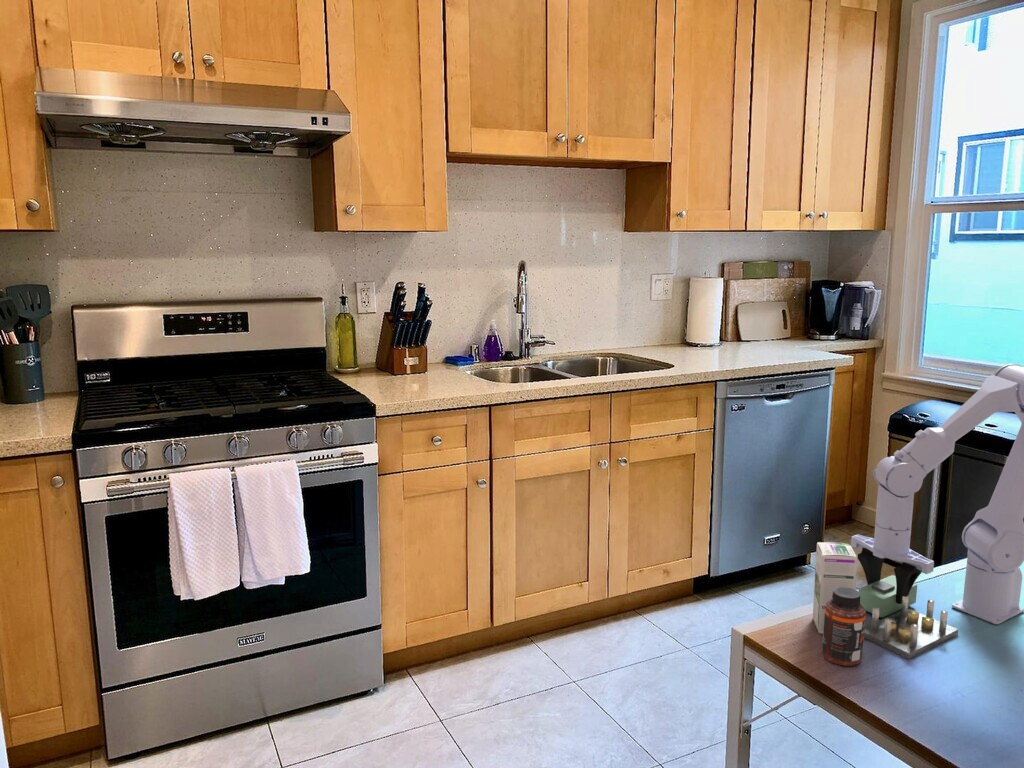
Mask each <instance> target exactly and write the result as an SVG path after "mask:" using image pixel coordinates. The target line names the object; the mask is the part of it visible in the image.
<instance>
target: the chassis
mask: <svg viewBox="0 0 1024 768" xmlns="http://www.w3.org/2000/svg"><path fill="white" fill-rule="evenodd" d="M908 601H909V596H908V595H902V606H901V609H900V611H899V610H898V611H896V612H894V613H892V614H889V615H887V616H885V617H883V618H882V619H879V618H880V617H879V608H877V607H873V613H871V615H872V617H871V623H870V624H867V625H865V630H864V639H865V638H866V640H868V641H869V642H871V643H874V642H875V643H874V644H875V645H878V646H880V645H881V646H880V647H882V646H883V647H882V648H884V647H885V649H886V648H887V650H888V651H891V652H893V653H894V654H897V653H898V654H897V655H899V656H901V655H902V656H901V657H903V656H904V658H905V659H907V658H908V660H910V659H912V658H914V657H917V656H918V655H920V654H922V653H924V652H926V651H928V650H931V649H933V648H934V647H936V646H938V645H940V644H942V643H945V642H947V641H948V640H950V639H952V638H954V637H957V636H958V635H959V629H958V628H957V627H953V626H951V625H949V624H948V623H947V622H948V612H949V611H947V610H941V611H940V618H939V619H940V620H937V619H935V618H934V608H935V600H933V599H928V600H927V603H926V614H923V613H921V612H918V611H916V610H913V609H911V608H910V607H909V606H908Z"/></svg>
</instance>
